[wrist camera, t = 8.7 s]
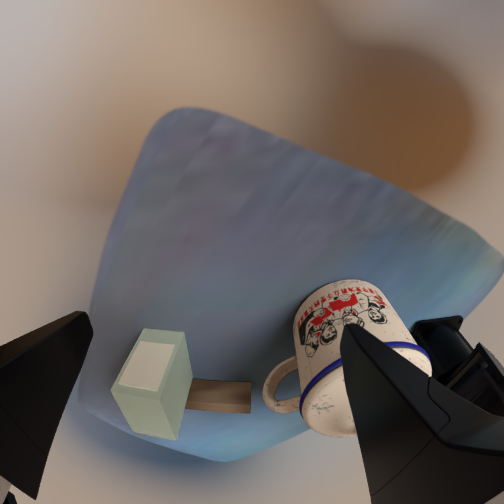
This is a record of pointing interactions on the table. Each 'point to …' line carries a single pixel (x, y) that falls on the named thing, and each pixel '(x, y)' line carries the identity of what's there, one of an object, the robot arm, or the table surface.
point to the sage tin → (155, 383)
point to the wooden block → (219, 396)
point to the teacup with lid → (336, 352)
